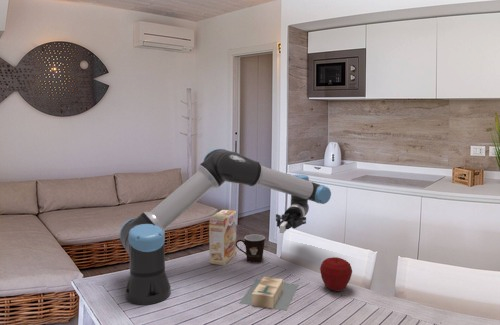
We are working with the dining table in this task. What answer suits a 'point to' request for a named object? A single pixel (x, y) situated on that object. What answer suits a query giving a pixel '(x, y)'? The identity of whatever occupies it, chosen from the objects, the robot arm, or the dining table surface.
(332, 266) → the apple
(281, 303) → the mat
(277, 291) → the letter block
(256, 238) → the coffee mug
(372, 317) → the dining table surface
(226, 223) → the coffeecake box
